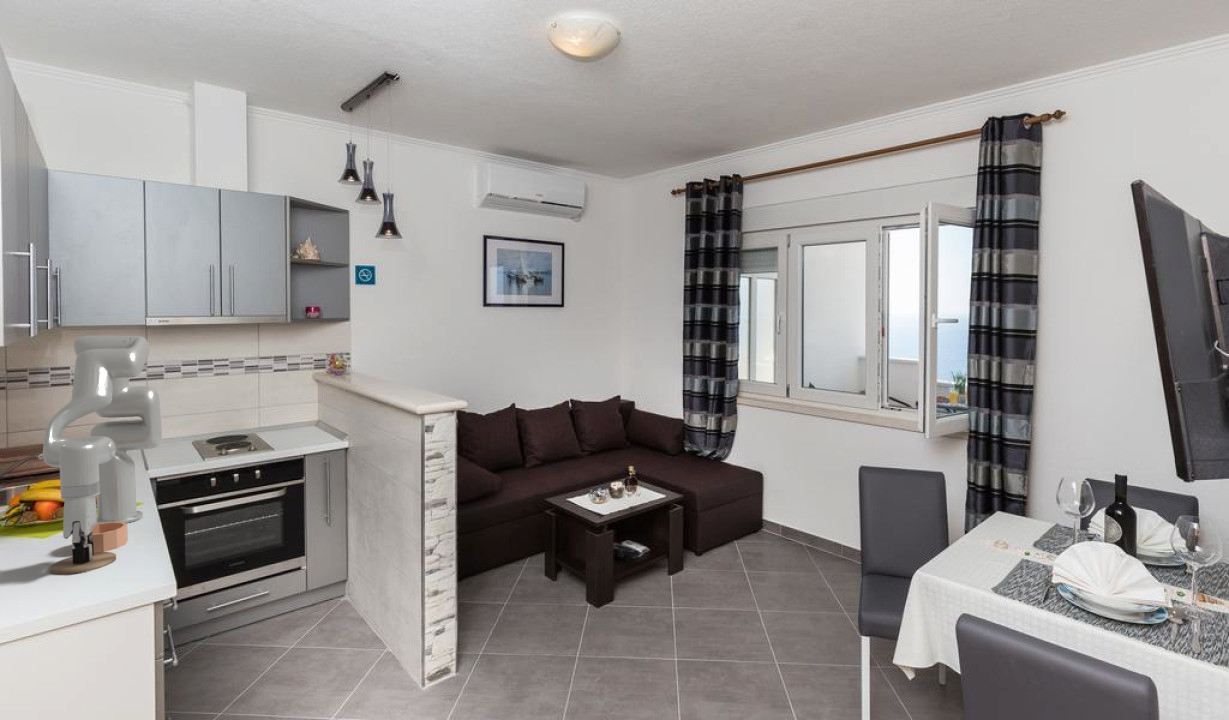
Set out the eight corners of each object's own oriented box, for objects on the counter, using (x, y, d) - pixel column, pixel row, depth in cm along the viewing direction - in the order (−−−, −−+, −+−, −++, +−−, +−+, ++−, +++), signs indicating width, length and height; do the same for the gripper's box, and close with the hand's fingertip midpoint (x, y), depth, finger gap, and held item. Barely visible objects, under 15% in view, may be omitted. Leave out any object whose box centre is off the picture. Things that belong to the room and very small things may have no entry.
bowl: (81, 542, 171) (80, 525, 170) (130, 536, 176) (130, 519, 176) (70, 556, 161) (69, 537, 161) (122, 548, 167) (121, 531, 166)
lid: (58, 561, 159) (57, 542, 158) (121, 552, 165) (120, 534, 165) (41, 579, 147) (40, 559, 147) (110, 569, 154) (109, 550, 153)
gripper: (70, 484, 160) (73, 552, 161) (50, 500, 146) (54, 574, 147) (106, 481, 164) (109, 547, 165) (91, 496, 150) (94, 568, 151)
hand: (83, 559), depth 156 cm, fingers closed on lid, 3 cm apart
